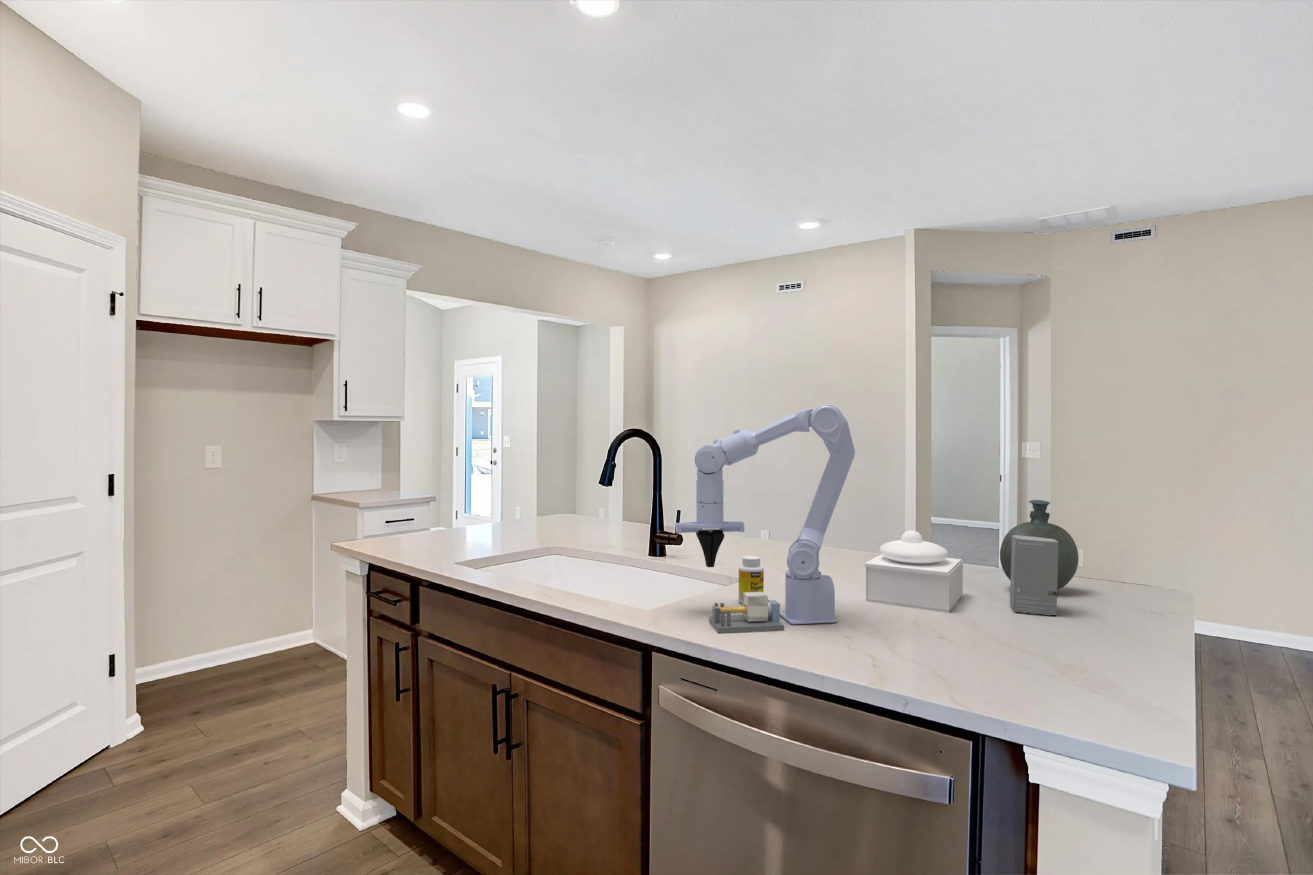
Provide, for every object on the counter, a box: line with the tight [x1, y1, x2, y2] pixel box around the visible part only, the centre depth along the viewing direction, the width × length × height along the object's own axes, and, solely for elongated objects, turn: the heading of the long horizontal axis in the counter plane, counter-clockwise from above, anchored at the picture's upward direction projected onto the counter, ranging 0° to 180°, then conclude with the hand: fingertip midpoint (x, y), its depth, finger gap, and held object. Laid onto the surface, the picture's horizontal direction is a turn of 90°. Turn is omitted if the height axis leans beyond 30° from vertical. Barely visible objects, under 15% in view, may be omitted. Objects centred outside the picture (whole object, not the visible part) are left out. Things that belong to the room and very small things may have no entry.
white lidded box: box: [864, 529, 964, 613], centre depth 151 cm, size 18×18×16 cm
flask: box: [999, 499, 1079, 591], centre depth 157 cm, size 12×17×22 cm
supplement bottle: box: [738, 555, 765, 605], centre depth 147 cm, size 6×6×10 cm
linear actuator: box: [708, 599, 785, 634], centre depth 129 cm, size 13×8×4 cm, turn 98°
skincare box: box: [1009, 535, 1059, 616], centre depth 140 cm, size 8×7×16 cm
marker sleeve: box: [742, 591, 769, 621], centre depth 129 cm, size 4×4×5 cm
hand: (709, 566), depth 138 cm, fingers closed
